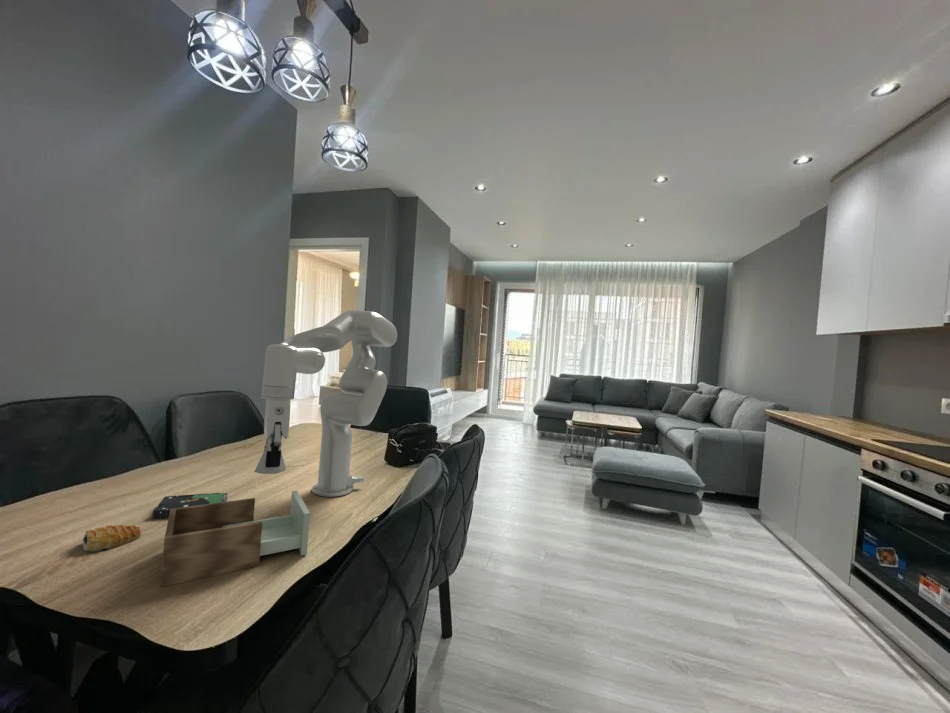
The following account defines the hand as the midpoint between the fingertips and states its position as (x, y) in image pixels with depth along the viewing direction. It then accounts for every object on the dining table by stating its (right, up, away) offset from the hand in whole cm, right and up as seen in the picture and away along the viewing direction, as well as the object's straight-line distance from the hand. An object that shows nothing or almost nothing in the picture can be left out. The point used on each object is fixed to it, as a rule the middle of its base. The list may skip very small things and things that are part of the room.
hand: (271, 463), depth 99 cm
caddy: (-4, -16, -16) cm, 23 cm away
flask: (0, -2, 0) cm, 2 cm away
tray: (+4, -16, -11) cm, 20 cm away
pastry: (-29, -14, -14) cm, 35 cm away
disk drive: (-25, -15, +6) cm, 29 cm away
